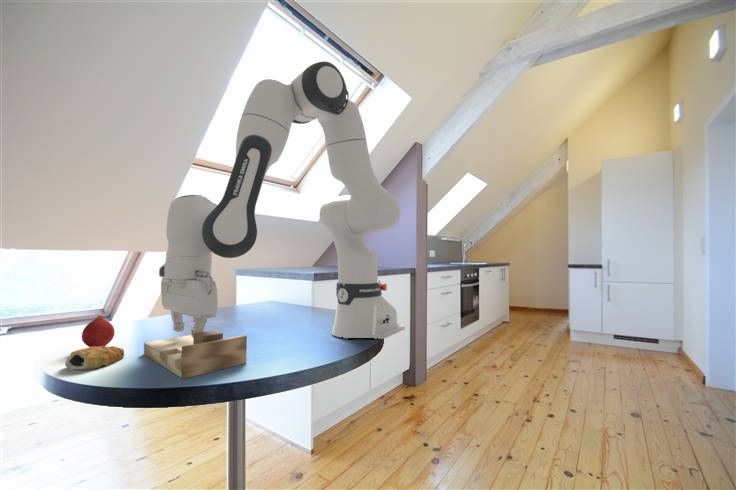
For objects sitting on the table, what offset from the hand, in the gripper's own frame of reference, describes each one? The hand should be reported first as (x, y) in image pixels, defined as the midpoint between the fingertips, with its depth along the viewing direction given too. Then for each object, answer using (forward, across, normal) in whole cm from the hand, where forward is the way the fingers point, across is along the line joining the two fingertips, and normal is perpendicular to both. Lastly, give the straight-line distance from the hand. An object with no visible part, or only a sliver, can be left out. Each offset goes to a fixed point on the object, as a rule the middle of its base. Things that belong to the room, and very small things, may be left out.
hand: (187, 334), depth 74 cm
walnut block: (+2, -10, 0) cm, 10 cm away
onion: (+5, +20, +11) cm, 23 cm away
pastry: (+5, +9, +14) cm, 17 cm away
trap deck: (+5, -2, 0) cm, 5 cm away
